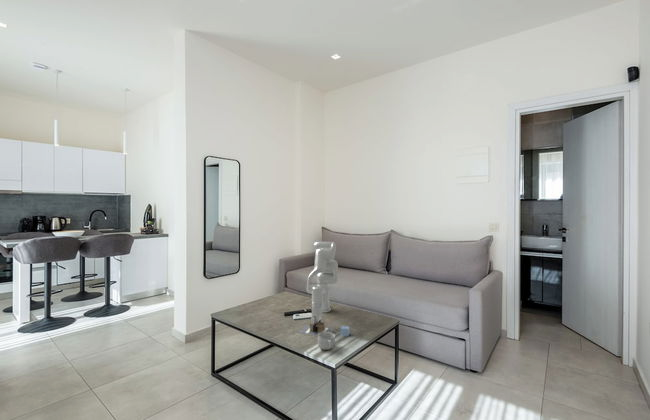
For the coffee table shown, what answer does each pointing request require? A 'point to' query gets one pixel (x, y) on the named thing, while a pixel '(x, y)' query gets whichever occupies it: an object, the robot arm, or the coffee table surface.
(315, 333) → the letter card
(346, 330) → the blue cube
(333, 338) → the teacup
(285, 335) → the coffee table surface
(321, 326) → the walnut block
